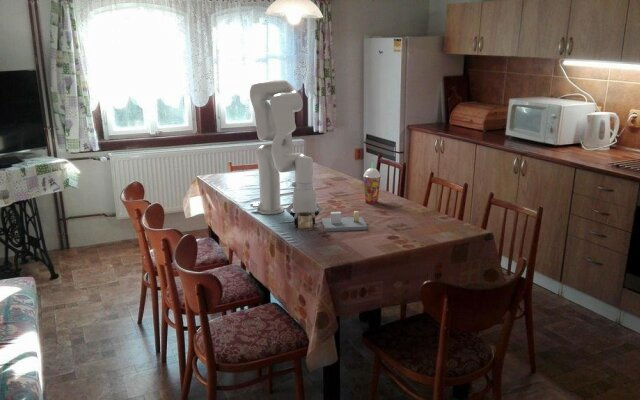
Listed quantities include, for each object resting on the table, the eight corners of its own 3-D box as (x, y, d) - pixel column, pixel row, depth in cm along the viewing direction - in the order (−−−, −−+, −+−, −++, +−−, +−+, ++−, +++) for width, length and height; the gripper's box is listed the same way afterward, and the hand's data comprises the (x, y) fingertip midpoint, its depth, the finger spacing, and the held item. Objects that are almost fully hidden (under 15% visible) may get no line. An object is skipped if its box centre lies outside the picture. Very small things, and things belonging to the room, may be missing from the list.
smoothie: (359, 200, 268) (360, 161, 262) (374, 199, 271) (375, 160, 266) (367, 205, 261) (368, 165, 255) (382, 203, 264) (384, 163, 258)
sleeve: (298, 230, 227) (298, 217, 225) (297, 224, 234) (296, 211, 232) (312, 229, 227) (312, 216, 226) (310, 223, 235) (310, 210, 233)
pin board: (324, 231, 225) (324, 217, 224) (321, 221, 238) (321, 208, 236) (367, 229, 227) (367, 216, 226) (361, 219, 240) (361, 207, 238)
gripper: (284, 188, 221) (285, 229, 226) (325, 187, 223) (325, 228, 228) (283, 184, 228) (284, 224, 233) (323, 182, 230) (323, 222, 235)
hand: (304, 225), depth 231 cm, fingers closed on sleeve, 6 cm apart
